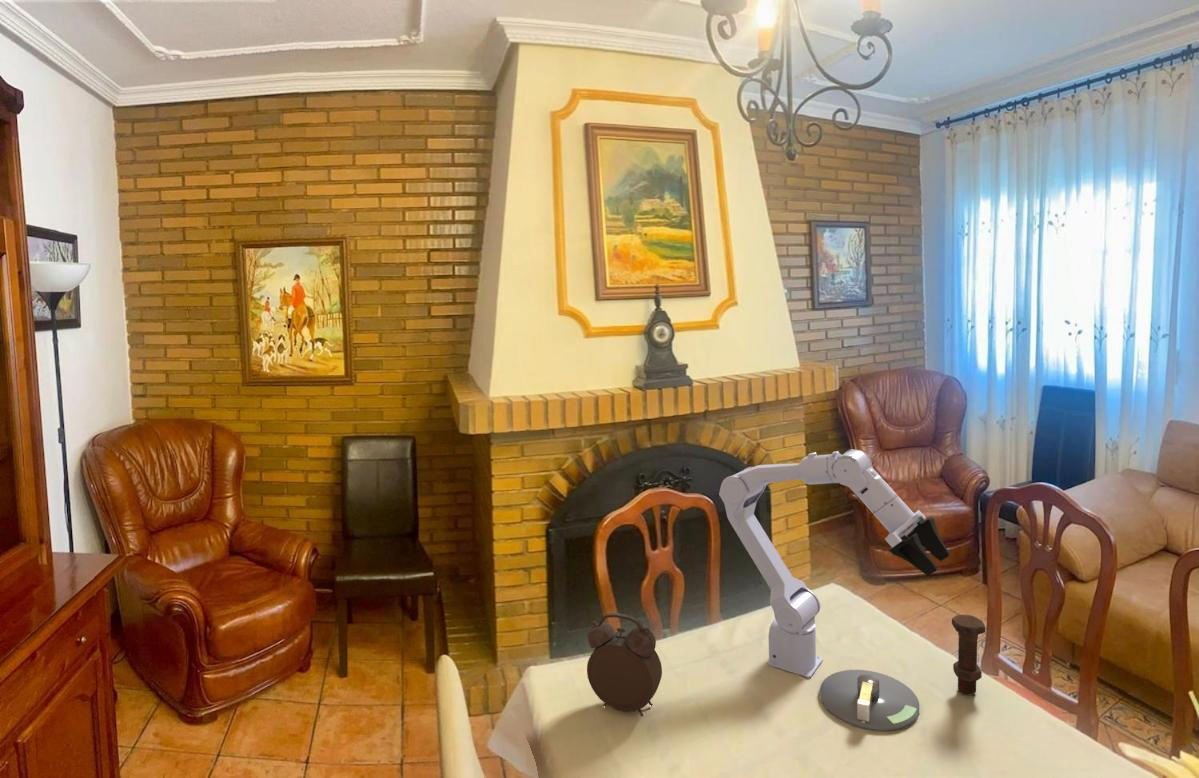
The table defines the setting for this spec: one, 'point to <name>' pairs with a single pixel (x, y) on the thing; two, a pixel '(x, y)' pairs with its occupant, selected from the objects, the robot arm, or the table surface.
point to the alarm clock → (623, 665)
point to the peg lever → (866, 695)
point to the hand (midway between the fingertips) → (939, 565)
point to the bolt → (967, 652)
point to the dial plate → (886, 712)
